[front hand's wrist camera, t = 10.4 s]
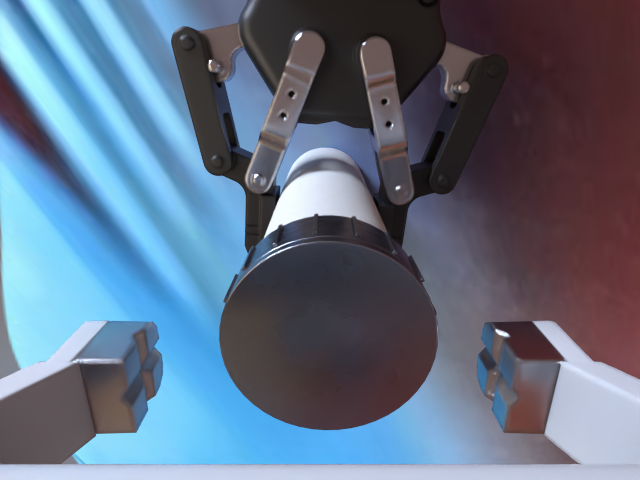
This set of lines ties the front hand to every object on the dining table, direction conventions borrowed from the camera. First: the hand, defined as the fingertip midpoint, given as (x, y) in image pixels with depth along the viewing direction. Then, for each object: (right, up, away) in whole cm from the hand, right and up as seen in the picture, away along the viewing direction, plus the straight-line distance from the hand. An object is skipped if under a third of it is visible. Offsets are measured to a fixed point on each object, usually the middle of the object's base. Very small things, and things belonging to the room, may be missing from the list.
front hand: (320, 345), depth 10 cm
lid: (0, 0, 0) cm, 1 cm away
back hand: (0, +1, +11) cm, 11 cm away
